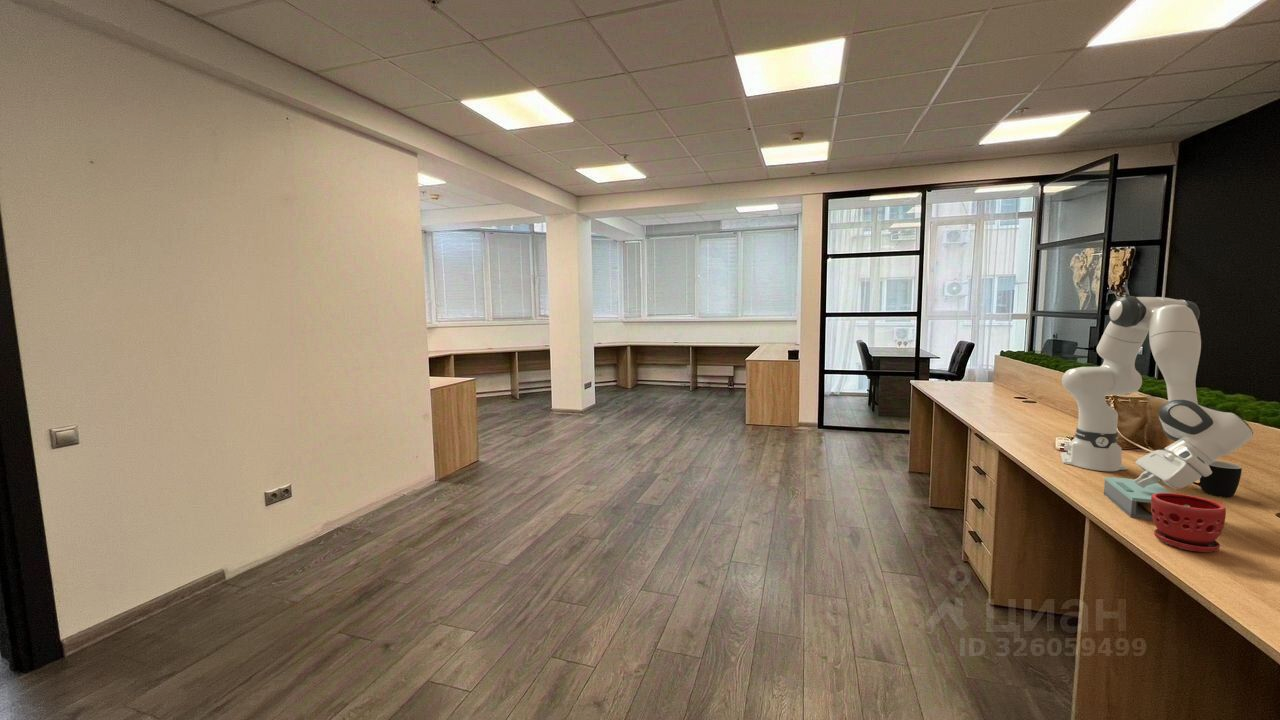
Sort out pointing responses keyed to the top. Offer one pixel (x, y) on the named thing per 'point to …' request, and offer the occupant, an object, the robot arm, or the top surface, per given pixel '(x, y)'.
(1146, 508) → the grey rectangular box
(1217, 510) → the plant pot
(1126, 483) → the lid
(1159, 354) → the robot arm
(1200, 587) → the top surface
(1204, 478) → the mug
